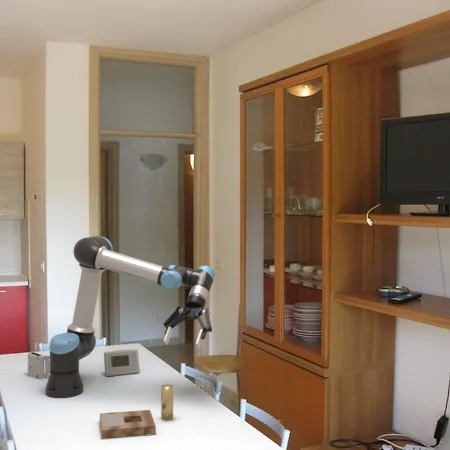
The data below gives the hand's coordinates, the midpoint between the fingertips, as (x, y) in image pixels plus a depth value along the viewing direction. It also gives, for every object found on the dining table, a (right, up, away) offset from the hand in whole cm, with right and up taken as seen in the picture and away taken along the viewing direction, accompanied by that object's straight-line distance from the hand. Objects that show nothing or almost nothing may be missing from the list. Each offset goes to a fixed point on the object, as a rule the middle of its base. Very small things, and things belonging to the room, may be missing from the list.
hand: (181, 344), depth 228 cm
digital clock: (-31, -23, +45) cm, 59 cm away
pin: (-4, -25, -11) cm, 28 cm away
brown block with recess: (-18, -25, -21) cm, 37 cm away
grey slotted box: (-66, -23, +39) cm, 80 cm away
